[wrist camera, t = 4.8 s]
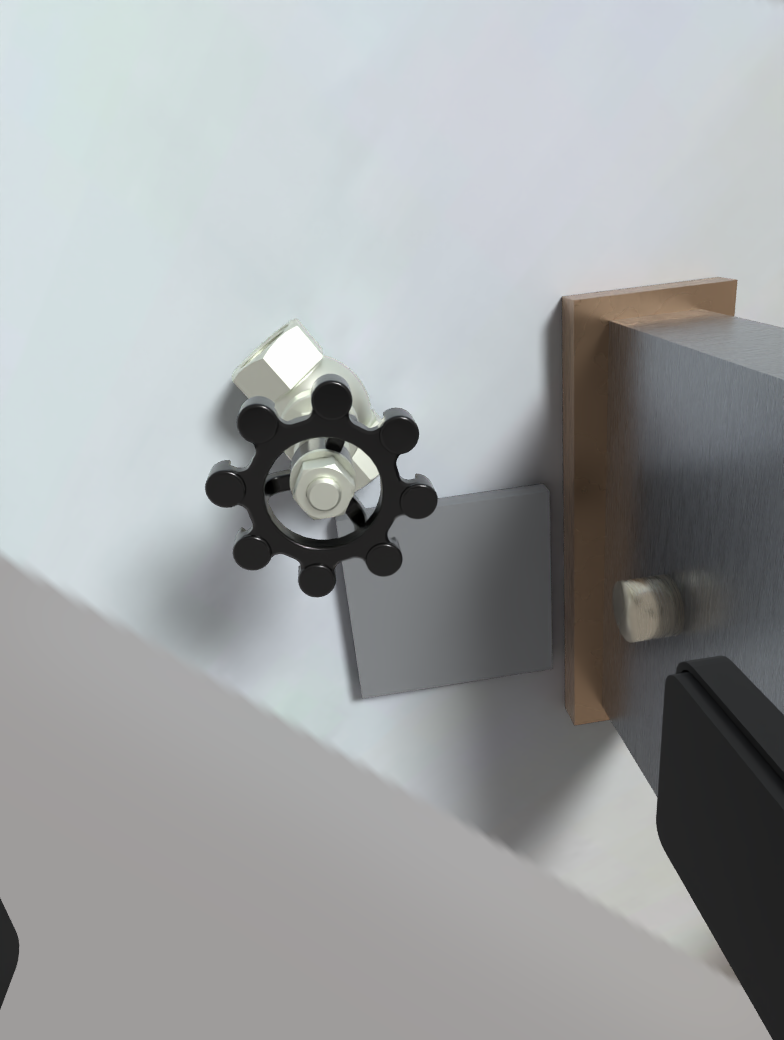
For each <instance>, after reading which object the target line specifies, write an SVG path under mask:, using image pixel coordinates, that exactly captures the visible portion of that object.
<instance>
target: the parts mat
mask: <svg viewBox="0 0 784 1040" xmlns="http://www.w3.org/2000/svg"><path fill="white" fill-rule="evenodd" d="M375 508H376V507H373V508H366V510H367V512H368V513H369V515H370V516H371V515H372V514H373V512H374V510H375ZM335 519H336V526H337V533H338V538H340V537H343V536H345V535H347V534H349V533H351V532H353V531H354V527H353V524H352V522H351V520H350V519H349V517H348V516H347V515H346V513H345V514H344V515H340V516H336V517H335ZM388 536H389V537H390V538H392V537H396V538H397V540H398V542H399V546H400V549H401V553H402V557H403V561H402V565H401V567H400V569H399V570H398V571H397V572H396V573H394V574H393V575H390V576H387V577H380V576H376V575H374V574H372V573H371V572H370V571H369V570H368V568H367V566H366V563H365V562H364V561H363V560H362V559H360V558H352V559H349V560H345V561H342V566H343V573H344V580H345V586H346V593H347V600H348V606H349V613H350V620H351V626H352V633H353V640H354V646H355V653H356V660H357V666H358V673H359V680H360V686H361V693H362V699H363V698H370V697H376V696H383V695H389V694H395V693H402V692H408V691H414V690H421V689H427V688H434V687H440V686H446V685H453V684H459V683H465V682H472V681H478V680H485V679H491V678H497V677H504V676H510V675H516V674H523V673H529V672H536V671H542V670H548V669H552V608H551V547H550V491H549V490H548V489H547V488H546V486H545V485H544V484H537V485H530V486H523V487H516V488H509V489H501V490H494V491H487V492H480V493H473V494H466V495H459V496H452V497H445V498H438V502H437V506H436V509H435V510H434V512H433V513H432V514H431V515H430V516H428V517H426V518H423V519H412V518H409V517H408V516H406V515H402V516H399V517H398V518H396V519H395V520H394V522H393V524H392V525H391V527H390V529H389V531H388Z"/></svg>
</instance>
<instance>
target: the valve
mask: <svg viewBox="0 0 784 1040" xmlns="http://www.w3.org/2000/svg"><path fill="white" fill-rule="evenodd" d="M232 380H233V382H234V383H235V385H236V386H237V387H238V388H239V389H240V390H241V391H242V392H243V393H244V394H245V395H246V397H247V398H248V399H247V400H246V401H245V402H244V403H243V404H242V406H241V408H240V411H239V414H238V417H237V428H238V431H239V433H240V434H241V436H242V437H243V438H244V439H245V440H247V441H249V442H251V443H253V444H254V446H255V448H256V451H255V453H254V455H253V457H252V459H251V462H250V464H249V465H248V466H246V467H244V468H237V467H234V466H231V465H230V464H231V461H230V460H225V461H221V462H218V463H217V464H215V465H214V466H213V467H212V469H211V471H210V473H209V476H208V478H207V481H206V484H205V491H206V495H207V496H208V498H209V500H210V501H211V502H212V503H214V504H215V505H217V506H220V507H225V508H228V507H233V506H236V505H241V506H243V507H245V508H246V509H247V511H248V513H249V515H250V518H251V520H252V523H253V525H252V527H251V528H250V529H249V530H247V531H246V530H245V529H244V528H241V529H240V530H239V531H238V533H237V535H236V538H235V543H234V547H233V557H234V559H235V561H236V563H237V564H238V565H239V566H240V567H242V568H244V569H247V570H259V569H261V568H263V567H265V566H266V565H267V564H268V563H269V561H270V560H271V557H273V556H274V555H276V554H284V555H287V556H289V557H291V558H294V559H296V560H297V561H298V562H299V563H300V566H299V570H298V583H299V586H300V588H301V590H302V591H303V592H304V593H305V594H307V595H308V596H311V597H322V596H325V595H327V594H329V593H330V592H331V591H332V590H333V588H334V586H335V584H336V574H335V567H336V566H337V564H338V563H340V562H342V561H345V560H349V559H352V558H360V559H362V560H363V561H364V562H365V563H366V566H367V568H368V570H369V571H370V572H371V573H372V574H374V575H376V576H380V577H387V576H390V575H393V574H394V573H396V572H397V571H398V570H399V569H400V567H401V565H402V561H403V557H402V553H401V549H400V546H399V542H398V540H397V538H396V537H392V538H390V537H389V536H388V531H389V529H390V527H391V525H392V524H393V522H394V520H395V519H396V518H398V517H399V516H402V515H406V516H408V517H409V518H412V519H423V518H426V517H428V516H430V515H431V514H432V513H433V512H434V510H435V509H436V506H437V502H438V498H437V494H436V492H435V490H434V487H433V485H432V483H431V481H430V480H429V479H428V478H427V477H425V476H424V475H421V474H415V479H411V480H407V479H403V478H402V477H401V476H400V475H399V472H398V469H397V466H396V461H397V458H398V456H399V455H400V454H404V453H407V452H409V451H410V450H412V449H413V448H414V447H415V445H416V444H417V442H418V439H419V429H418V427H417V424H416V423H415V421H414V419H413V417H412V416H411V414H410V413H409V412H408V411H406V410H404V409H402V408H391V409H388V410H386V411H385V412H383V415H384V418H383V419H381V418H380V417H379V415H378V414H377V413H376V412H375V411H374V410H373V409H371V404H370V400H369V397H368V394H367V391H366V389H365V387H364V385H363V384H362V382H361V381H360V379H359V378H358V377H357V375H356V374H355V373H354V372H353V371H352V370H351V369H350V368H348V367H347V366H346V365H344V364H343V363H341V362H339V361H338V360H336V359H333V358H331V357H328V356H325V355H323V350H322V347H321V346H320V345H319V344H318V343H317V341H316V340H315V339H314V338H313V337H312V336H311V334H310V333H309V332H308V331H307V330H306V328H305V327H304V326H303V325H302V324H301V322H300V321H299V320H298V319H293V320H291V321H289V322H288V323H286V324H285V325H284V326H282V327H281V328H280V329H278V330H277V331H276V332H275V333H273V334H272V335H271V336H270V337H269V338H268V339H266V340H265V341H264V342H263V343H262V344H261V345H260V346H258V347H257V348H256V349H255V350H254V351H253V352H252V353H251V354H250V355H249V356H248V357H247V358H246V359H245V360H244V361H243V362H242V363H241V364H240V365H239V366H238V367H237V368H236V369H235V371H234V372H233V373H232ZM283 452H284V453H285V454H286V455H287V457H288V458H289V459H290V460H291V469H289V470H284V471H279V472H275V473H272V474H269V475H268V473H269V470H270V468H271V467H272V465H273V464H274V462H275V460H276V459H277V458H278V457H279V456H280V455H281V454H282V453H283ZM378 475H380V484H381V491H380V497H379V501H378V504H377V506H376V508H375V510H374V512H373V514H372V515H371V516H370V515H369V513H368V512H367V510H366V509H365V507H364V506H363V505H362V503H361V502H360V501H359V499H358V498H357V497H356V496H355V495H354V493H355V491H357V490H359V489H361V488H363V487H364V486H366V485H367V484H369V483H370V482H371V481H372V480H374V479H375V478H376V477H377V476H378ZM290 490H291V492H292V495H293V499H294V500H295V501H296V502H297V504H298V505H299V506H300V507H301V508H302V509H303V510H304V511H305V512H306V513H307V514H308V515H309V516H310V517H311V518H312V519H313V520H318V519H326V518H332V517H336V516H340V515H344V514H345V513H346V515H347V516H348V517H349V519H350V520H351V522H352V524H353V527H354V531H353V532H351V533H349V534H347V535H345V536H343V537H340V538H335V539H329V540H317V539H312V538H306V537H303V536H301V535H299V534H296V533H294V532H292V531H291V530H289V529H287V528H286V527H285V526H284V525H283V524H282V523H281V522H280V521H279V520H278V519H277V518H276V517H275V515H274V514H273V512H272V510H271V508H270V506H269V504H268V501H269V497H271V496H272V495H274V494H277V493H280V492H284V491H290Z"/></svg>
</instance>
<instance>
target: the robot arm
mask: <svg viewBox="0 0 784 1040" xmlns="http://www.w3.org/2000/svg"><path fill="white" fill-rule="evenodd" d="M656 825H657V831H658V835H659V839H660V841H661V844H662V846H663V848H664V850H665V852H666V854H667V856H668V858H669V859H670V861H671V863H672V865H673V866H674V868H675V870H676V872H677V873H678V875H679V877H680V878H681V880H682V882H683V884H684V885H685V887H686V889H687V891H688V892H689V894H690V896H691V898H692V899H693V901H694V903H695V905H696V906H697V908H698V910H699V912H700V913H701V915H702V917H703V919H704V920H705V922H706V924H707V926H708V927H709V929H710V931H711V933H712V934H713V936H714V938H715V940H716V941H717V943H718V945H719V947H720V948H721V950H722V952H723V954H724V955H725V957H726V959H727V961H728V962H729V964H730V966H731V967H732V969H733V971H734V973H735V974H736V976H737V978H738V980H739V981H740V983H741V985H742V987H743V988H744V990H745V992H746V994H747V995H748V997H749V999H750V1001H751V1002H752V1004H753V1005H754V1008H755V1009H756V1011H757V1013H758V1014H759V1016H760V1018H761V1020H762V1022H763V1023H764V1025H765V1027H766V1029H767V1030H768V1032H769V1034H770V1035H771V1037H772V1039H773V1040H784V715H783V714H782V712H781V711H780V710H779V709H778V708H777V707H776V706H775V705H774V704H773V703H772V702H771V701H770V700H769V699H768V698H767V697H766V696H765V695H764V694H763V693H762V692H761V691H760V690H759V689H758V688H757V687H756V686H755V685H754V684H753V682H752V681H751V680H750V679H749V678H748V677H747V676H746V675H745V674H744V673H743V672H742V671H741V670H740V669H739V668H738V667H737V666H736V665H735V664H734V663H733V662H732V661H731V660H730V659H729V658H727V657H726V656H722V655H720V656H713V657H707V658H701V659H695V660H689V661H683V662H681V663H679V664H678V666H677V668H676V673H675V674H672V675H669V676H667V678H666V681H665V690H664V706H663V721H662V737H661V752H660V768H659V783H658V799H657V814H656ZM18 955H19V940H18V936H17V933H16V931H15V929H14V927H13V924H12V922H11V920H10V918H9V916H8V914H7V912H6V909H5V907H4V905H3V903H2V901H1V899H0V1008H1V1006H2V1003H3V1001H4V998H5V995H6V993H7V990H8V987H9V984H10V982H11V979H12V977H13V974H14V971H15V969H16V965H17V962H18Z"/></svg>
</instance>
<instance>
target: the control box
mask: <svg viewBox="0 0 784 1040" xmlns="http://www.w3.org/2000/svg"><path fill="white" fill-rule="evenodd" d="M736 290H737V280H735V279H728V278H721V277H715V278H707V279H699V280H691V281H683V282H675V283H667V284H659V285H651V286H643V287H635V288H627V289H619V290H611V291H603V292H594V293H586V294H578V295H570V296H562V371H563V497H564V622H565V708H566V710H567V712H568V714H569V716H570V718H571V720H572V722H573V723H574V725H580V724H586V723H592V722H599V721H605V720H611V722H612V723H613V725H614V727H615V728H616V730H617V731H618V733H619V735H620V736H621V738H622V740H623V741H624V743H625V745H626V746H627V748H628V750H629V751H630V753H631V755H632V756H633V758H634V759H635V761H636V763H637V764H638V766H639V768H640V769H641V771H642V773H643V774H644V776H645V778H646V779H647V781H648V783H649V784H650V786H651V788H652V789H653V791H654V792H655V794H656V796H657V797H658V783H659V768H660V752H661V737H662V721H663V706H664V690H665V681H666V678H667V676H669V675H672V674H675V673H676V668H677V666H678V664H679V663H681V662H683V661H689V660H695V659H701V658H707V657H713V656H720V655H722V656H726V657H727V658H729V659H730V660H731V661H732V662H733V663H734V664H735V665H736V666H737V667H738V668H739V669H740V670H741V671H742V672H743V673H744V674H745V675H746V676H747V677H748V678H749V679H750V680H751V681H752V682H753V684H754V685H755V686H756V687H757V688H758V689H759V690H760V691H761V692H762V693H763V694H764V695H765V696H766V697H767V698H768V699H769V700H770V701H771V702H772V703H773V704H774V705H775V706H776V707H777V708H778V709H779V710H780V711H781V712H782V714H783V715H784V328H781V327H777V326H773V325H768V324H764V323H760V322H755V321H751V320H747V319H742V318H738V317H734V313H735V301H736Z"/></svg>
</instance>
